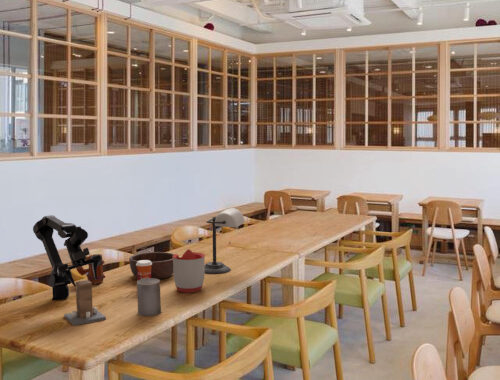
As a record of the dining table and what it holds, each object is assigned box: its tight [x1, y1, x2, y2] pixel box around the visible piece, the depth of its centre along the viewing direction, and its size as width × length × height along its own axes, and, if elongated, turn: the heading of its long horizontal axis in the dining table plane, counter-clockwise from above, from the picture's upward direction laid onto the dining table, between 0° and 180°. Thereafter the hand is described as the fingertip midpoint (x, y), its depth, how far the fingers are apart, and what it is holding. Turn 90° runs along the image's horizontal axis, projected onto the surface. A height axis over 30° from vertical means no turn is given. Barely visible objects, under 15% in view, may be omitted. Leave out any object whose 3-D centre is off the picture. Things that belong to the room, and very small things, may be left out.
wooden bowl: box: [128, 251, 175, 280], centre depth 302 cm, size 25×25×10 cm
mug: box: [75, 253, 106, 285], centre depth 288 cm, size 15×8×15 cm, turn 92°
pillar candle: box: [136, 278, 162, 317], centre depth 240 cm, size 10×10×15 cm
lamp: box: [204, 207, 246, 275], centre depth 311 cm, size 26×24×34 cm
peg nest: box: [64, 306, 107, 326], centre depth 234 cm, size 13×13×4 cm
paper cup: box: [136, 260, 152, 281], centre depth 274 cm, size 8×8×14 cm
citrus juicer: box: [172, 248, 206, 294], centre depth 275 cm, size 16×17×20 cm
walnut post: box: [75, 279, 94, 318], centre depth 233 cm, size 5×5×14 cm
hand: (85, 282), depth 244 cm, fingers open, 9 cm apart
